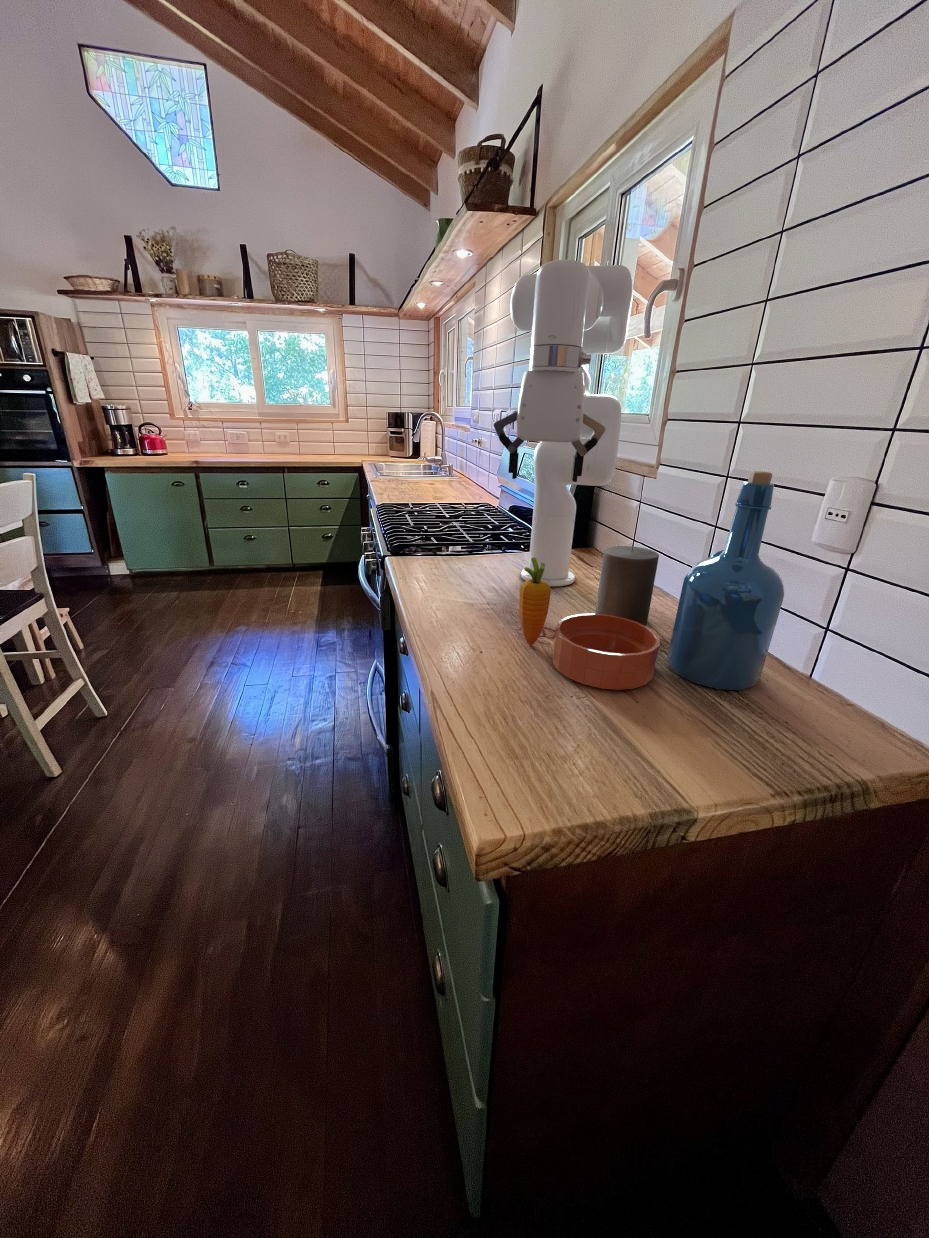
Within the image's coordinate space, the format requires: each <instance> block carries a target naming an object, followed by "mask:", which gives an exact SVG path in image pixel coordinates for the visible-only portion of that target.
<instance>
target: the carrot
mask: <svg viewBox="0 0 929 1238" xmlns="http://www.w3.org/2000/svg"><path fill="white" fill-rule="evenodd" d="M531 560H532V564H533V567H534V570H533V571H532V569H530V568H528V566H526V567H524V569H523V570H525V571H527V572H528V573H529V574H530V575H531V577H532V579H531V580H527V581H525V580H524V581H523V582H522V583H521V584H520V586H519V599H518V601H519V602H518V603H519V604H518V605H519V606H518V608H519V609H518V613H519V622H520V628H521V631H522V635H523V637H524V639H525V641H526V644H527V645H529V647H532V646H533V645H535V643H536V642H537V640H538V639H539V637H540V635H541V633H542V632H543V630H544V627H545V624H546V622H547V618H548V613H549V608H550V603H551V602H550V601H551V593H552V588H551V586H549V585H548V584H547V583H546V582H545V581H542V580H541V578H542V575H543V573H544V568H545V564H544V563H543V562H541V567H540V568H539V567H538V563H537V560H536V558H535V557H533V558H531Z"/></svg>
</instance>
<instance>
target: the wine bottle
mask: <svg viewBox="0 0 929 1238" xmlns="http://www.w3.org/2000/svg"><path fill="white" fill-rule="evenodd" d="M772 478H773V473H772V472H770V471H761V470H753V471H750V473H749V474H748V479H747V480H745V481H743V483H742V485H741V488H740V491H739V494H738V496H737V498H736V502H735V503H734V506H735V510H734V514H733V516H732V517H733V518H732V522H731V525H730V529H729V532H728V534H727V539H726V543H725V546H724V549H722V550H719V551H716V552H714V553H712V554H711V555H709V556H708V557H706V558H703V559H701V560H700V561H698V562H695V564H694V565H692V566H691V568H690V569H689V571H688V573H687V574H686V575H685V577H683V582H682V587H681V592H680V596H679V601H678V606H677V610H676V614H675V619H674V624H673V629H672V632H671V633H672V634H671V639H670V642H669V648H668V652H667V662H668V665H670V667H671V668H672V669H673V671H674V672H675V673H676V674H677V675H679V676H680V677H683V678H684V679H687V680H688V681H690V682H692V683H694V684H697V685H701V686H704V687H709V688H712V689H716V690H725V691H726V690H727V691H742V690H746V689H749V688H751V687H754V686H756V685H757V684H758V683H759V681H760V679H761V675H762V673H763V669H764V665H765V662H766V659H767V655H768V653H769V649H770V645H771V642H772V639H773V635H774V632H775V628H776V626H777V622H778V618H779V615H780V612H781V608H782V605H783V601H784V597H785V584H784V580H783V578H782V576H781V574H779V572H777V571H776V570H775V569H774V568H772V567H771V566H769V565H768V564H766V563H765V562H764V561H762V559H761V557H760V554H759V553H760V550H761V545H762V541H763V536H764V531H765V527H766V523H767V518H768V514H769V510H771V509H772V502H773V494H774V489H775V488H774V487H775V484H774V483H772Z"/></svg>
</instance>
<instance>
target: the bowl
mask: <svg viewBox="0 0 929 1238" xmlns="http://www.w3.org/2000/svg"><path fill="white" fill-rule="evenodd" d="M554 627H555V629H554V637H553V646H552V655H551V658H552V665H553V666H554V667H555V669H556V670H557V671H558V672H559V673H560V674H562V675H563V676H565V677H566V678H568V679H570V680H572V681H575V682H577V683H580V684H581V685H586V686H589V687H594V688H598V689H604V690H615V691H621V690H632V689H637V688H640V687H642V686H645V685H647V684H648V683H650V682H651V681H652V680H653V678H654V674H655V669H656V664H657V660H658V655H659V650H660V649H659V648H660V645H661V639H660V637H659V635H658V633H656V632H655V631H654V630H653V629H651V628H650V627H649V626H645V625H643V624H641V623H638V622H636V621H633V620H629V619H626V618H622V617H617V616H612V615H605V614H595V613H578V614H573V615H568V616H566V617H564V618H562V619H560V620H559V621H558V622H557V624H555V626H554Z"/></svg>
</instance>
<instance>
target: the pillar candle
mask: <svg viewBox="0 0 929 1238" xmlns="http://www.w3.org/2000/svg"><path fill="white" fill-rule="evenodd" d="M602 555H603V556H602V563H601V570H600V575H599V584H598V590H597V598H596V606H595V613H594V614H605V615H612V616H617V617H622V618H626V619H629V620H633V621H636V622H638V623H641V624H643V625H645V626H647V625H648V621H649V613H650V610H651V602H652V599H653V592H654V586H655V581H656V575H657V569H658V563H659V557H660V554H659V553H658V552H657V551H655V550H653V549H649V548H645V547H641V546H640V547H639V546H634V544H632V545H631V546H630V545H612V546H608V547H606V548H603V554H602ZM647 627H648V626H647Z"/></svg>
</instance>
